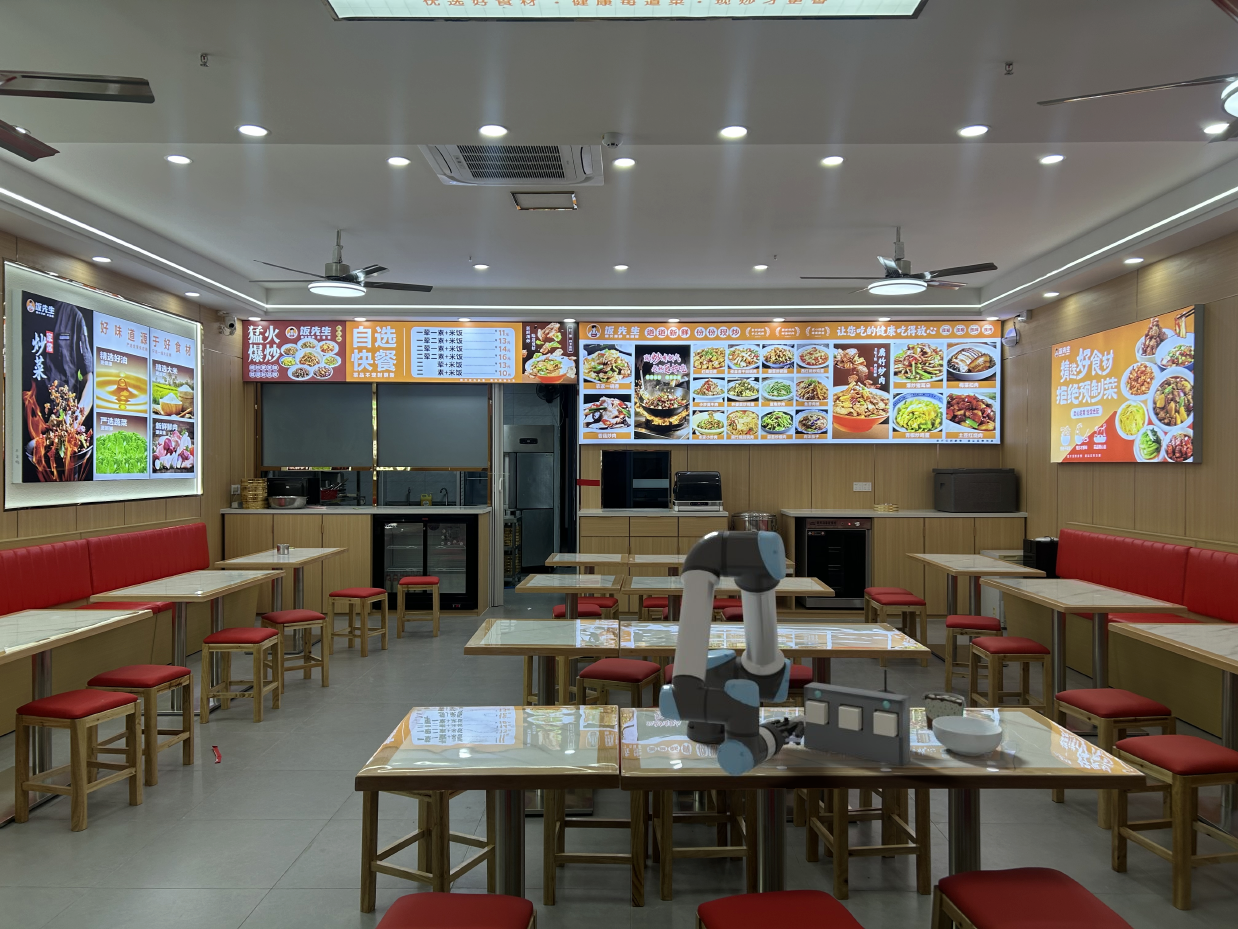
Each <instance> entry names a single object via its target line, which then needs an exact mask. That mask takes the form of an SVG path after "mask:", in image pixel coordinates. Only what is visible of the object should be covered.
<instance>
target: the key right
mask: <svg viewBox="0 0 1238 929" xmlns="http://www.w3.org/2000/svg"><path fill="white" fill-rule="evenodd" d="M898 733H899V713H895V712H889V711H883V710H878V711H876V712H875V713H874V734H880V735H886V736H891V737H894V736H896V735H897V734H898Z"/></svg>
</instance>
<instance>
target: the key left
mask: <svg viewBox="0 0 1238 929" xmlns="http://www.w3.org/2000/svg"><path fill="white" fill-rule="evenodd" d="M806 722H812V723H817V724H823V725H824V724H826V723H827V722H829V702H826V701H820V700H813V699H811V700H809V701H807V702H806Z"/></svg>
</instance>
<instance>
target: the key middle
mask: <svg viewBox="0 0 1238 929" xmlns="http://www.w3.org/2000/svg"><path fill="white" fill-rule="evenodd" d="M839 727H840V728H846V729H852V730H857V731H858V730H860V729H861V728H863V707H857V706H851V705H845V704H844V705H842V706H841V707H839Z"/></svg>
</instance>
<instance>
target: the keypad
mask: <svg viewBox="0 0 1238 929" xmlns="http://www.w3.org/2000/svg"><path fill="white" fill-rule="evenodd" d="M811 699H813V700H820V701H826V702H829V722H827V723H826V724H824V725H823V724H817V723H812V722H806V702H807V701H809V700H811ZM844 704H845V705H851V706H857V707H863V728H861V729H860V730H858V731H857V730H852V729H846V728H840V727H839V707H841V706H842V705H844ZM878 710H883V711H889V712H895V713H899V733H898V734H897V735H896V736H894V737H891V736H886V735H880V734H874V713H875V712H876V711H878ZM803 715H805V727H804V736H803V748H806V749H807V748H808V749H813V750H818V751H824V752H829V753H833V754H839V755H843V756H849V757H855V758H858V759H863V760H864V759H865V760H869V761H874V762H879V763H884V764H890V765H895V766H901V767H904V766H905V765H906V764H908V763H909V762H910V760H911V696H910V695H905V694H904V695H903V694H900V695H897V694H891V693H884V692H877V691H875V690H869V689H863V688H856V687H855V688H854V687H850V686H849V687H848V686H843V685H835V684H828V683H822V682H821V683H820V682H814V681H812V682H810V683H808V684H806V685H804V686H803Z"/></svg>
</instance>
